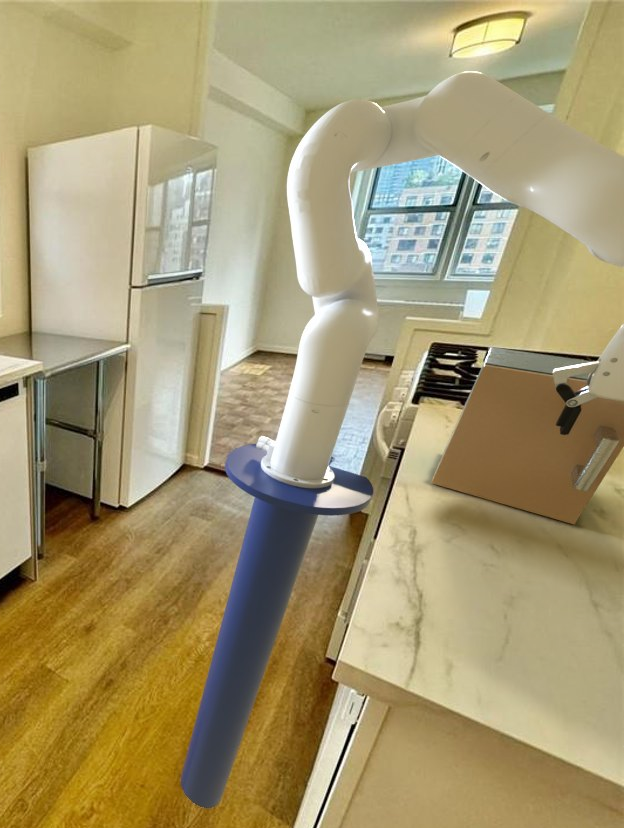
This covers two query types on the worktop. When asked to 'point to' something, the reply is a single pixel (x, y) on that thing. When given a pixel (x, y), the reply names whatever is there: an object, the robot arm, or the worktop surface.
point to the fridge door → (531, 445)
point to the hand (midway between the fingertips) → (613, 442)
